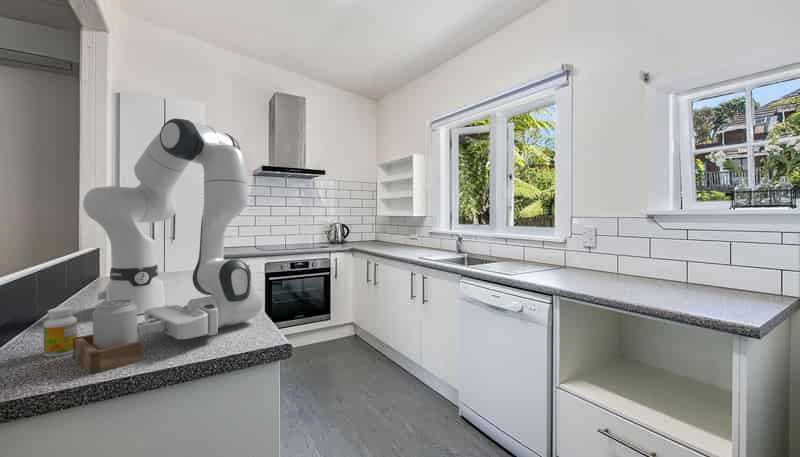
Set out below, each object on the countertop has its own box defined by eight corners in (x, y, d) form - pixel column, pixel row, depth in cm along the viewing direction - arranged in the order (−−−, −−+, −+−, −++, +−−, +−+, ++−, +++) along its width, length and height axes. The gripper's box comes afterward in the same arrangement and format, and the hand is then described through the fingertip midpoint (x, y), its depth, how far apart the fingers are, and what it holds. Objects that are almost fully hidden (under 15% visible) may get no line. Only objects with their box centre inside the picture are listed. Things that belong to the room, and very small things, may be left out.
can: (114, 365, 71) (113, 307, 71) (83, 362, 72) (82, 305, 72) (146, 351, 79) (145, 298, 78) (117, 348, 80) (116, 296, 79)
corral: (73, 356, 75) (72, 338, 75) (118, 345, 82) (118, 328, 82) (92, 374, 67) (91, 353, 67) (141, 360, 74) (141, 341, 74)
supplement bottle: (36, 356, 75) (35, 311, 75) (64, 347, 81) (63, 305, 80) (58, 358, 75) (57, 313, 74) (84, 348, 80) (83, 306, 79)
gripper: (182, 297, 96) (120, 307, 85) (220, 309, 84) (153, 323, 73) (182, 319, 96) (120, 333, 85) (220, 335, 84) (154, 353, 73)
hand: (136, 329), depth 79 cm, fingers closed, pressing on can
